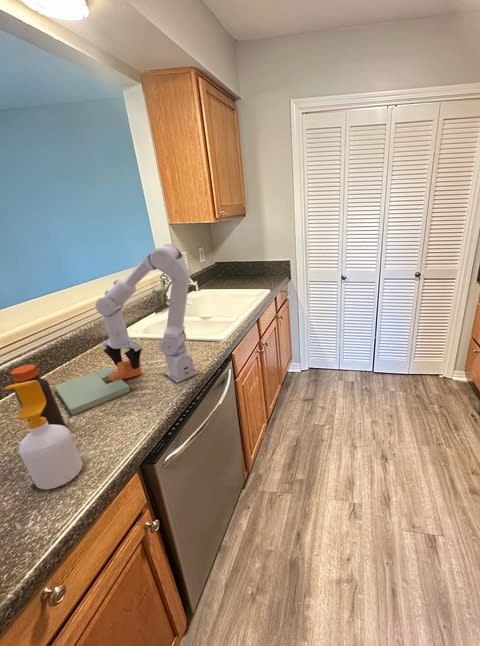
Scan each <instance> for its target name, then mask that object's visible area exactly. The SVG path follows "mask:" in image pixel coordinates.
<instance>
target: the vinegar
mask: <svg viewBox="0 0 480 646" xmlns="http://www.w3.org/2000/svg"><path fill="white" fill-rule="evenodd" d="M10 374H11V376H12V379H13V381H14V383H15V384H18V383H23V382H28V381H33V380H37V381H38V382H39V384H40V386H41V389H42V391H43V393H44V396H45V398H46V405H45V407H44V409H43V411H42V413H41V415H40V417H45V418H46V419H47V422H48V424H49V425H62V426H65V427H66V428H67V424H66V422H65V420H64V417H63V415H62V413H61V411H60V408H59V405H58V403H57V401H56V399H55V396H54V394H53V391H52V389H51V387H50V384H49V382H48V380H47V379H45V378H42V377H40V372H39V370H38V367H37V365H36V364H34V363H33V364H32V363H31V364H30V363H29V364H25V365H20V366H18V367H15V368H14V369H13V370H12V371H10ZM14 394H15V396H16V399H17V401H18V403H19V405H20V407H21V408H22V403H21V400H20V398H19V396H18V394H17V392H16V390H15V389H14ZM26 420H27V423H28V422H30V419H29V420H28V419H26Z"/></svg>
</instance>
